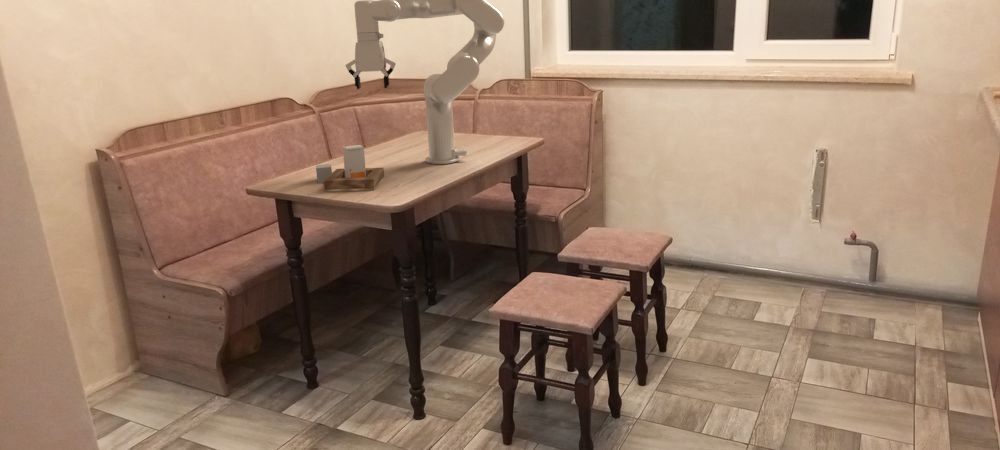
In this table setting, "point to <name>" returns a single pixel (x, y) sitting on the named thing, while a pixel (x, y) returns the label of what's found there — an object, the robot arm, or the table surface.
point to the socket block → (354, 180)
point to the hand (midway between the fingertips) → (372, 88)
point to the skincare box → (354, 161)
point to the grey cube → (323, 172)
